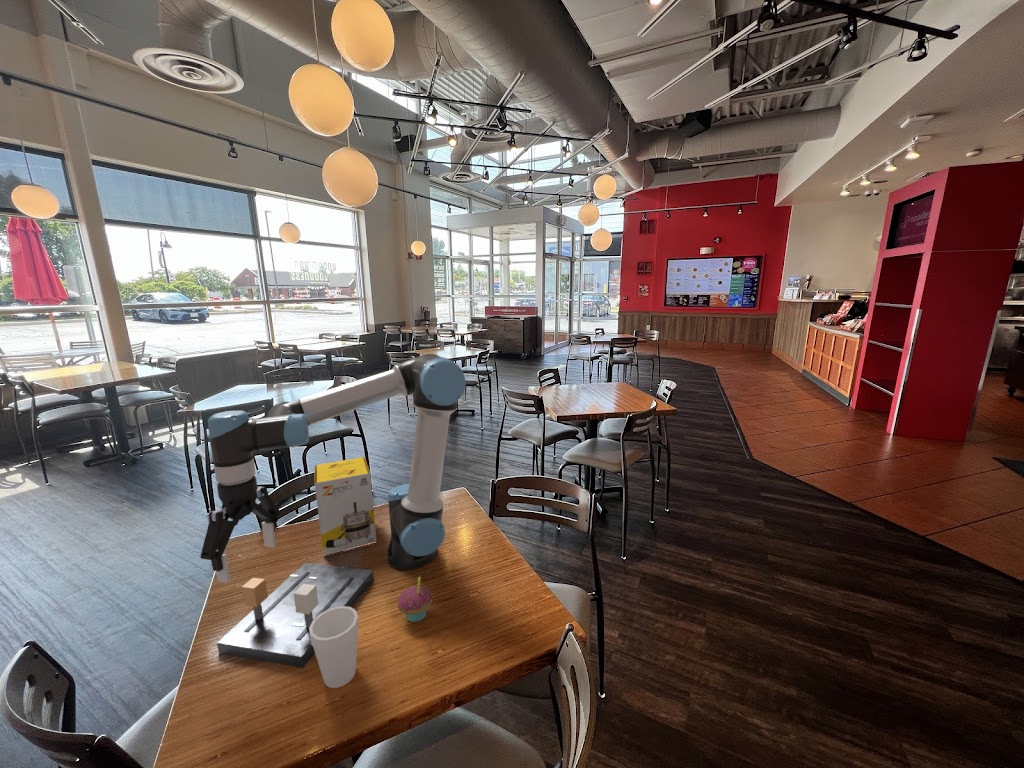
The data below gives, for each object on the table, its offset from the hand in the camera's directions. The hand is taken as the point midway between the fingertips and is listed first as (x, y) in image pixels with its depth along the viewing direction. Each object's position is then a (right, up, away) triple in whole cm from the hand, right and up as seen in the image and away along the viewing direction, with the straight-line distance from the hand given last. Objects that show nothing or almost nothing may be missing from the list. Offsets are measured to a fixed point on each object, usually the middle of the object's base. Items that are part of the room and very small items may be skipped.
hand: (248, 562), depth 98 cm
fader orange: (+1, -15, +3) cm, 15 cm away
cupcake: (+38, -17, +7) cm, 42 cm away
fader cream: (+14, -15, 0) cm, 21 cm away
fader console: (+9, -17, +9) cm, 21 cm away
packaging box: (+7, -10, +44) cm, 45 cm away
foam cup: (+26, -20, -9) cm, 34 cm away
